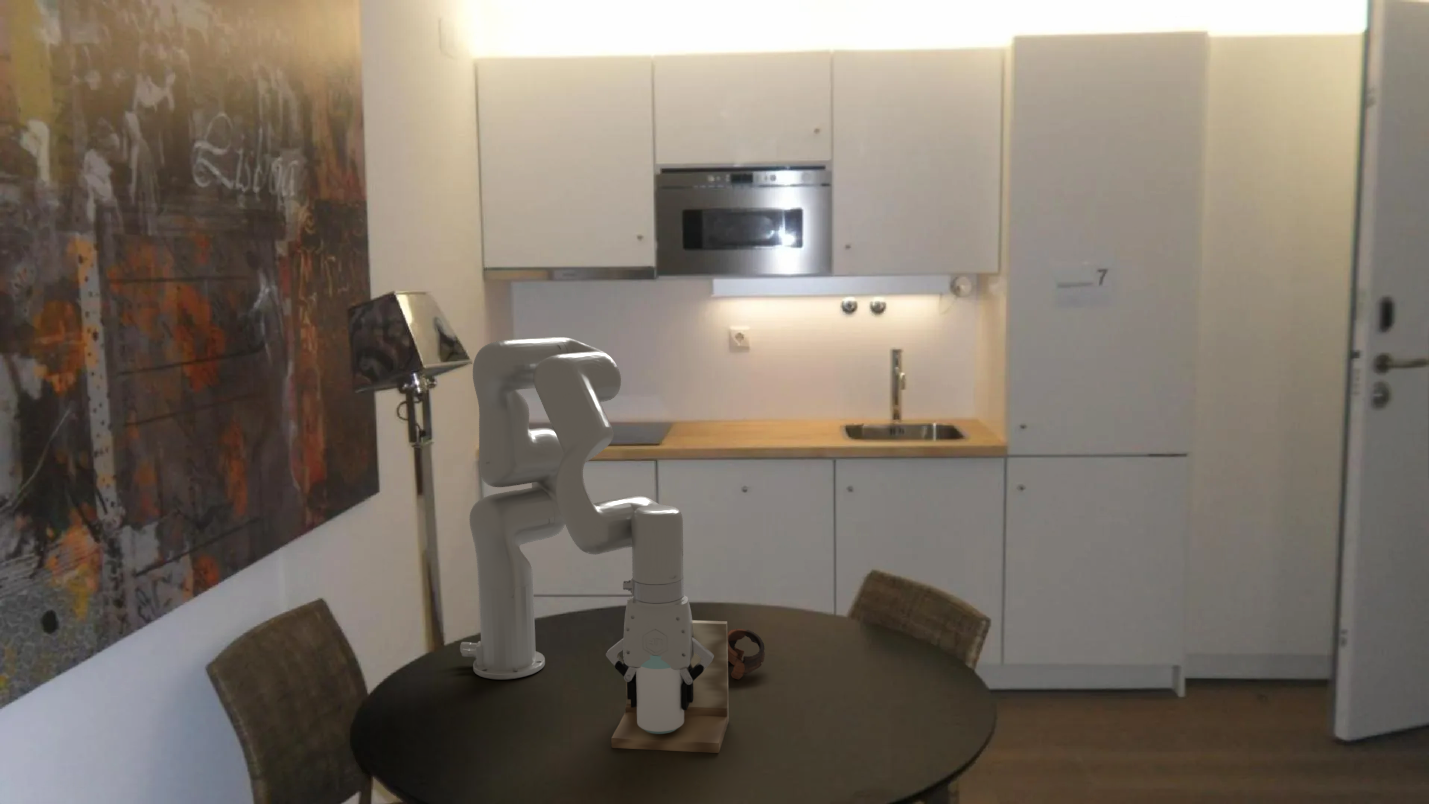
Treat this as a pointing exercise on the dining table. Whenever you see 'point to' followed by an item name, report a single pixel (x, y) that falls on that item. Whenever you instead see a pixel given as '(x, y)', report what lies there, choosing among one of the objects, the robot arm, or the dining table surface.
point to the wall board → (702, 715)
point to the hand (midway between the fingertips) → (660, 704)
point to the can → (659, 697)
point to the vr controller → (736, 654)
